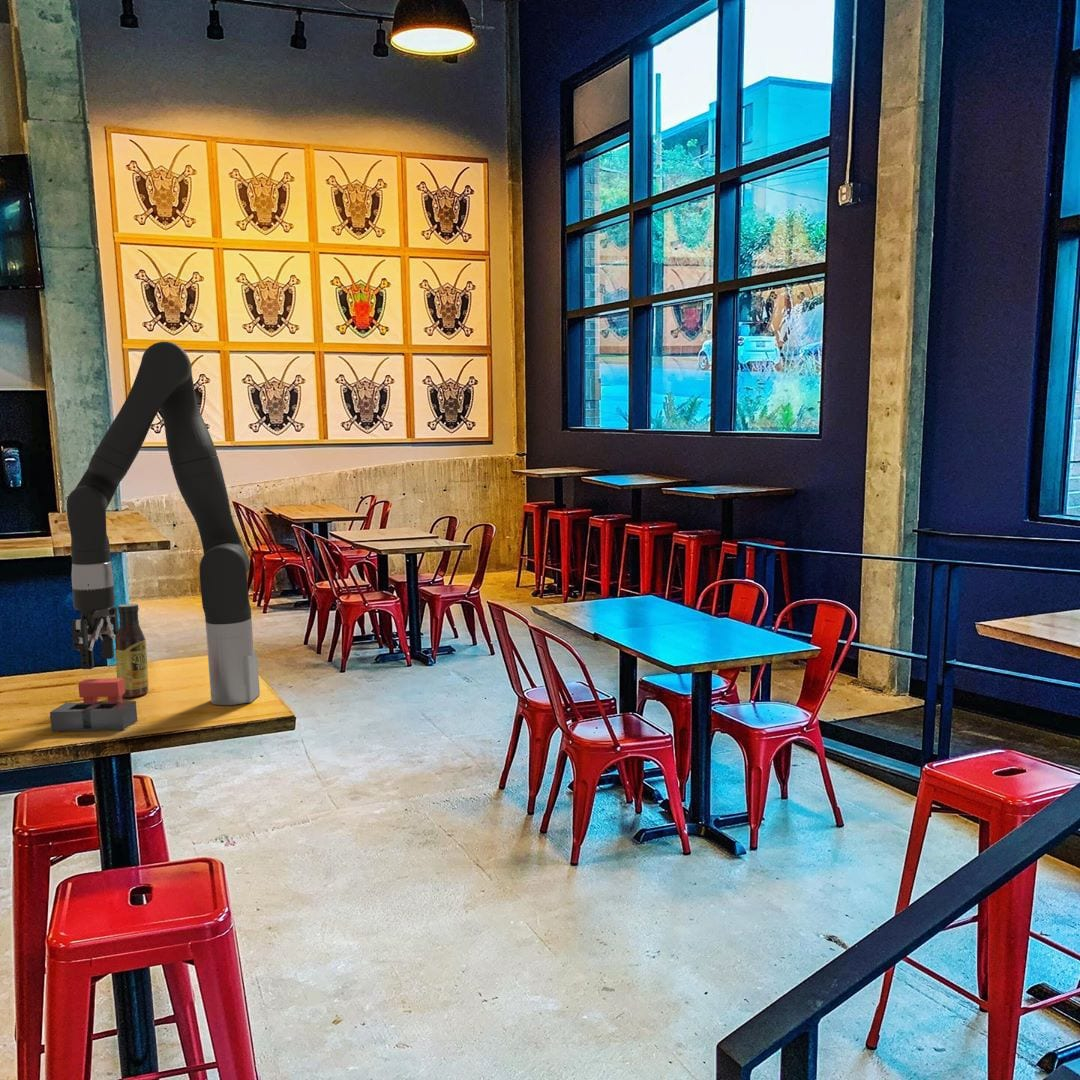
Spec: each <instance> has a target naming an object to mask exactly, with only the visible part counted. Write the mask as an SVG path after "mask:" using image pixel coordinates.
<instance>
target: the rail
mask: <svg viewBox="0 0 1080 1080" xmlns="http://www.w3.org/2000/svg"><path fill="white" fill-rule="evenodd" d="M49 718H50V729H51V732H52V731H79V732H101V731H100V730H121V731H125V730H126V729H125V728H127V727H128V726H129V727H131V726H132V725H134V724H135V723H136V722H138V712H137V701H136V700H129V701H126V700H124V701H119V702H108V701H98V702H84V701H83V702H65V703H63V704H61V705H59V706H58V707H56V708H54V709H52V710H51V711H49ZM131 724H132V725H131ZM130 725H131V726H130ZM129 727H128V728H129ZM128 728H127V729H128ZM124 729H125V730H124Z"/></svg>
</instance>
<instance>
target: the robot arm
mask: <svg viewBox="0 0 1080 1080" xmlns="http://www.w3.org/2000/svg"><path fill="white" fill-rule="evenodd" d="M192 369H193V368H192V363H191V360H190V358H189V355H188V354H187V352H186V351H185V350H184V348H182V347H181V346H180V345H178V344H176V343H174V342H171V341H159V342H155V343H153V344H151V345H149V347H146V350H145V351H144V352H143V354H142V357H141V362H140V365H139V368H138V370H137V373H136V375H135V377H134V378H135V379H134V381H133V384H132V386H131V388H130V390H129V393H128V395H127V396H126V399H125V401H124V402H123V404H122V406H121V408H120V410H119V412H118V413H117V414H116V416H115V418H114V419H113V422H111V424H110V425H109V428H108V429H107V430H106V433H105V434H104V435H103V437H102V439H101V441H100V442H99V444H98V446H97V448H96V449H95V450H94V453H93V454H92V456H91V457H90V458H91V459H90V460H89V463H88V468H87V469H86V471H85V472H84V474H82V475H83V476H82V477H81V479H80V480H79V482H78V484H77V485H76V487H75V488H74V489H73V490H72V491H71V492H70V494H69V495H68V496H67V498H66V515H67V521H68V526H69V533H70V539H71V541H70V553H71V586H72V588H71V589H72V601H73V602H72V605H73V608H74V610H76V611H80V619H74V618H73V619H72V620H71V630H72V631H71V633H72V649H73V650H74V651H75V650H76V651H78V652H80V653H79V654H80V667H81V669H82V670H93V669H94V668H95V660H94V650H93V649H94V646H95V642H97V641H98V639H99V638H100V640H101V641H100V647H101V648H100V649H101V650H100V651H101V658H102V659H103V660H112V659H114V657H115V647H114V641H115V637H116V635H118V634H119V620H118V610H117V609H118V607H116V606H115V603H116V602H115V601H116V600H115V584H114V574H113V573H114V571H113V567H112V561H111V546H110V540H109V536H108V535H107V509H108V507H109V505H110V503H111V501H112V499H113V497H114V495H115V494H116V491H117V489H118V487H119V484H120V483H121V481H122V480H123V479H124V478H125V476H126V475H127V473H128V472H129V471H130V468H131V467H132V465H133V463H134V461H135V459H136V458H137V456H138V454H139V452H140V450H141V449H142V446H143V444H144V442H145V440H146V438H147V436H148V433H149V431H150V428H151V426H152V424H153V422H154V420H155V418H156V416H157V414H158V413H159V411H160V412H161V415H162V419H163V424H164V430H165V432H164V434H165V439H166V440H165V441H166V447H167V452H168V457H169V460H170V465H171V468H172V472H173V476H174V479H175V481H176V485H177V488H178V490H179V493H180V495H181V497H182V499H183V501H184V502H185V504H186V506H187V508H188V510H189V511H190V513H191V515H192V517H193V519H194V521H195V524H196V526H197V530H198V533H199V536H200V541H201V545H202V552H203V556H202V557H201V560H200V562H199V570H198V571H199V573H198V574H199V583H200V584H199V585H200V594H201V603H202V604H201V605H202V610H203V612H204V618H205V620H204V622H205V632H206V634H205V635H206V648H207V650H206V651H207V659H208V660H207V661H208V675H209V688H210V692H209V693H210V698H211V699H210V701H211V703H212V704H213V705H218V706H235V705H241V704H242V705H243V704H247V703H248V704H249V703H252V702H254V701H255V700H256V699H257V698H258V697H259V696H260V695H261V694H260V691H261V690H260V677H259V676H260V675H259V663H258V662H259V661H258V660H259V659H258V652H257V651H255V649H254V635H253V633H254V632H253V620H252V619H253V618H252V608H251V603H250V599H249V587H248V573H249V568H250V559H249V556H248V553H247V551H246V548H245V546H244V544H243V542H242V541H243V540H241V537H240V535H239V532H238V530H237V527H236V525H235V522H234V518H233V514H232V511H231V506H230V500H229V494H228V490H227V486H226V482H225V478H224V473H223V470H222V466H221V463H220V459H219V456H218V453H217V449H216V446H215V444H214V442H213V439H212V436H211V434H210V432H209V430H208V427H207V424H206V423H205V420H204V418H203V416H202V413H201V410H200V408H199V405H198V404H199V403H198V400H197V396H196V390H195V385H194V379H193V371H192ZM114 606H115V607H114Z"/></svg>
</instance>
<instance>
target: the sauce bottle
mask: <svg viewBox="0 0 1080 1080" xmlns="http://www.w3.org/2000/svg"><path fill="white" fill-rule="evenodd" d="M117 609H118V610H117V613H119V627H118V629H119V634H118V635H115V639H114V641H115V647H114V654H115V664H116V665H115V666H116V669H115V670H116V678H124V681H125V693H124V694H122V698H135V697H140V696H144V695H146V694H147V693H148V692H149V684H150V683H149V670H148V652H147V651H148V649H147V639H146V637H145V635H144V633H143V631H142V628H141V625H140V620H139V610H140V609H139V604H138V603H126V604H119V605H118V606H117Z"/></svg>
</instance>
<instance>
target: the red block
mask: <svg viewBox="0 0 1080 1080" xmlns="http://www.w3.org/2000/svg"><path fill="white" fill-rule="evenodd" d="M77 684H78V685H77V686H78V695H79V696H78V697H79V698H83V702H99V698H107V702H119V701H123V697H122V694H124V693H125V681H124V678H117V677H116V678H85V679H83V680H82V681H80V682H78V683H77Z"/></svg>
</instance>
